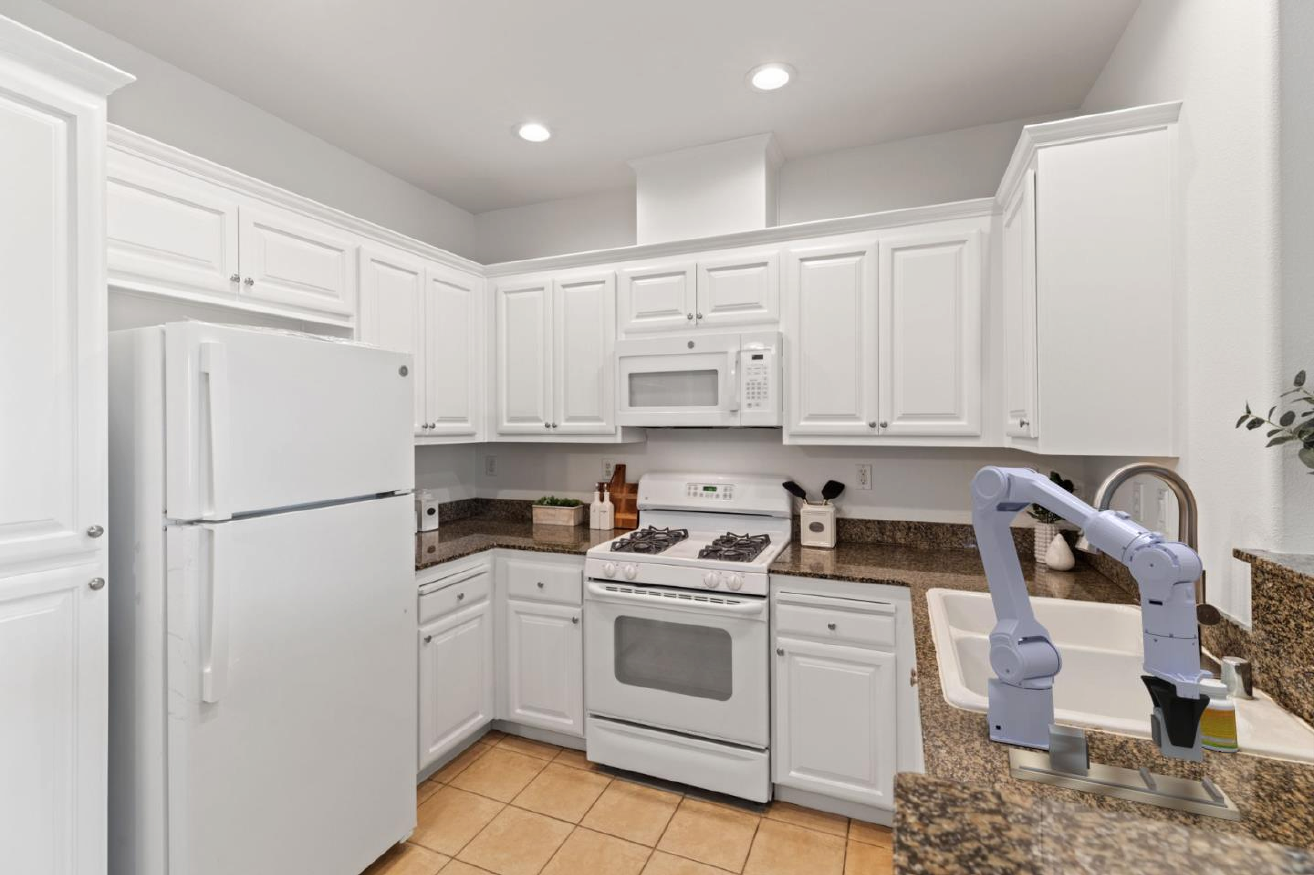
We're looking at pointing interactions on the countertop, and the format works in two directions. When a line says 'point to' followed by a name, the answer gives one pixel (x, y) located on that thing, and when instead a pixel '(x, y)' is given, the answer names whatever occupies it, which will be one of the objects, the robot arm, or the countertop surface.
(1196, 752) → the finger part
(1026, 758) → the rail
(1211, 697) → the supplement bottle
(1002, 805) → the countertop surface
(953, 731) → the countertop surface
